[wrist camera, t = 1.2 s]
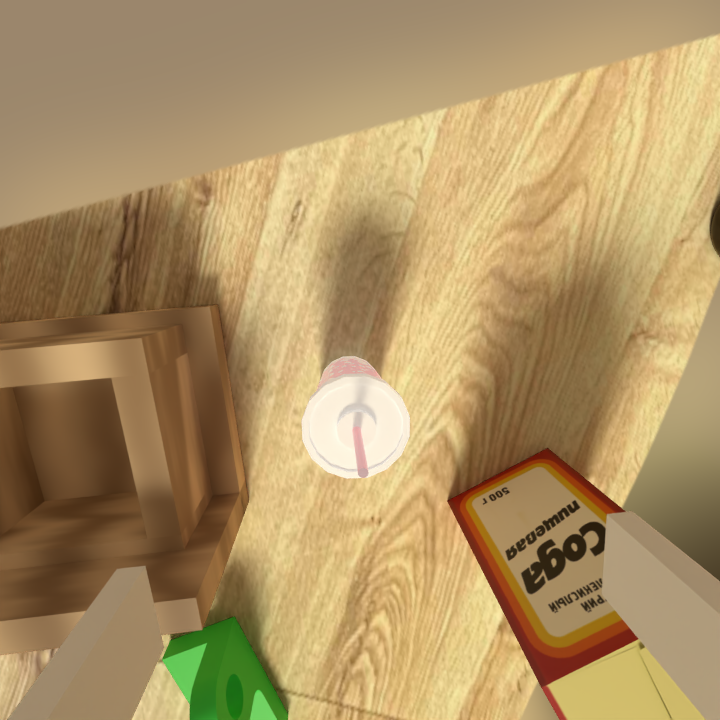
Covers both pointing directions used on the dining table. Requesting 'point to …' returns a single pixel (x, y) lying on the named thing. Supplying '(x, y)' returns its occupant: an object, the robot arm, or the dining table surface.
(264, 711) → the mechanical part
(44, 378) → the wooden caddy with backboard
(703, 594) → the robot arm
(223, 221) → the dining table surface
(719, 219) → the supplement bottle
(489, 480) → the baking soda box
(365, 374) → the beverage cup
